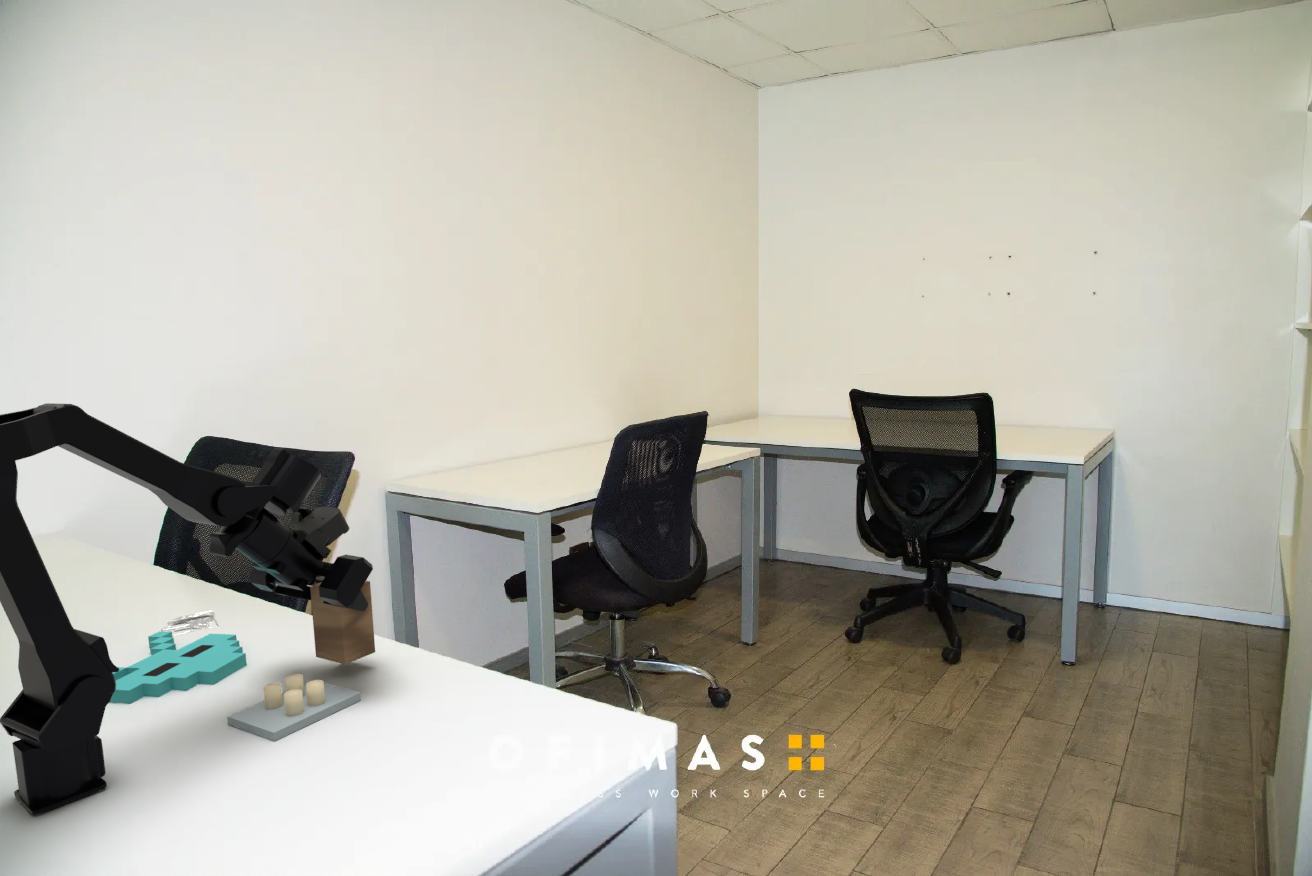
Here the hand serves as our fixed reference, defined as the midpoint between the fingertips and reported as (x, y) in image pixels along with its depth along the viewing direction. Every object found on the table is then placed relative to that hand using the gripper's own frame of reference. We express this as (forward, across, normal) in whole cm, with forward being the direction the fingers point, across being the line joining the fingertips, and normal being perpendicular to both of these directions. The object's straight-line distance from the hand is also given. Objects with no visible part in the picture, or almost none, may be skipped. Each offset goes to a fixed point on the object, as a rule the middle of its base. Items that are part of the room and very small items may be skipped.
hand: (350, 604), depth 117 cm
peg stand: (-3, -5, +16) cm, 17 cm away
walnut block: (+4, 0, +6) cm, 7 cm away
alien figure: (-3, +23, +16) cm, 28 cm away
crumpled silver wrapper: (+6, +39, +7) cm, 40 cm away
